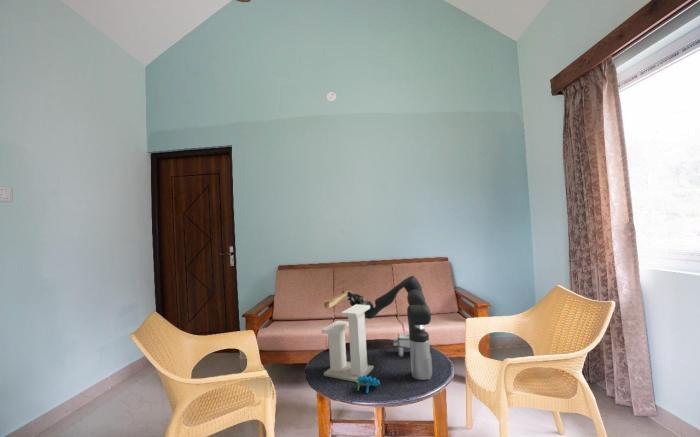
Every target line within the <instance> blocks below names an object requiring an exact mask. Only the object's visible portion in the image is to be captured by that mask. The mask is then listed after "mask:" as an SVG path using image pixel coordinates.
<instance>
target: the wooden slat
mask: <svg viewBox="0 0 700 437" xmlns="http://www.w3.org/2000/svg"><path fill="white" fill-rule="evenodd" d="M348 292H351V293H353V290H346V291H344V293H342V292H341V293H340V294H338V295H335V296H332V297H331V298H328V299H326V300H324V301H323V304H324V305H323V307H324V308H325V309H326V308H327V309H328V308H329V309H331V308H332V307H334V306H336V305H338V304H340V303H342V302H344V301H347V300H346V299H348V298H350V297H349V296H348V295H347V294H348Z"/></svg>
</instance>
